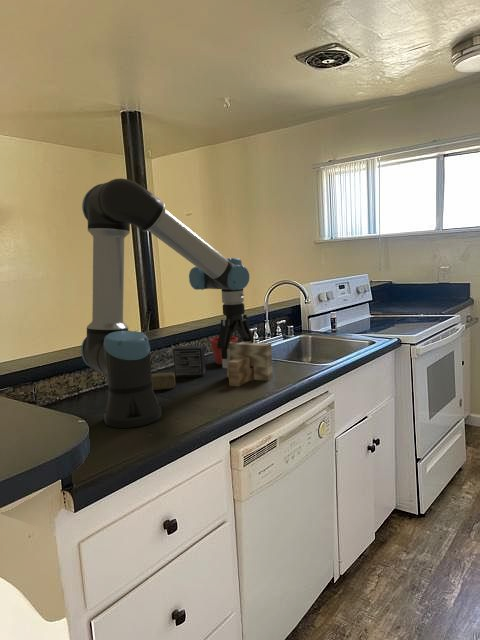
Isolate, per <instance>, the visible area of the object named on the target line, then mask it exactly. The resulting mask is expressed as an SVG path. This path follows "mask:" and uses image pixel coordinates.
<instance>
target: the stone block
mask: <svg viewBox="0 0 480 640" xmlns="http://www.w3.org/2000/svg"><path fill="white" fill-rule="evenodd" d="M152 386H153V390H154V391H161V390H162V391H163V390H170V389H171V390H172V389H175V387H176V377H175V372H154V373H152Z"/></svg>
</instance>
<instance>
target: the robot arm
mask: <svg viewBox="0 0 480 640" xmlns="http://www.w3.org/2000/svg"><path fill="white" fill-rule="evenodd" d="M81 207H82V208H81V209H82V213H83V216H84V218H85V219H86V220H87V232H88V233H89V234H90V235H91V236H92V238H93V239H92V250H93V251H92V312H91V313H92V317H91V318H92V321H91V322H90V323H89V324H88V325H87V326H86V337H85V338H84V339H83V341H82V342H81V346H80V347H81V348H80V354H81V357H82V359H83V360H82V361H83V362H84V363H85V364H86V366H88V367H89V368H90V369H92V370H93V371H94V372H96V373H100V374H103V375H106V377H107V388H108V396H107V400H106V407H105V411H104V413H103V417H104V418H103V419H104V423H105V425H106V426H108V427H111V428H117V429H129V428H137V427H142V426H146V425H149V424H152V423H155V422H157V421H158V420H159V419H161V417H162V408H161V405H160V404H159V401H158V399H157V397H156V393H155V390H153V386H152V374H153V373H152V362H151V345H150V341H149V337H148V336H147V335H146V334H145V333H143V332H141V331H138V330H137V331H136V330H129V326H128V325H127V324H126V323H125V322H124V288H125V287H124V283H125V282H124V281H125V280H124V279H125V278H124V277H125V276H124V274H125V273H124V272H125V239H126V237H127V236H128V235H130V233H131V232H130V231H131V225H132V226H135V227H136V228H138V230H140V231H141V232H149V233H151V234H152V235H153V236H154V237H156V238H158V240H160V241H161V242H163V243H164V244H165V245H167V246H168V247H169V248H171V249H172V250H173V251H175V252H176V253H177V254H179V255H180V256H182V257H183V258H184V259H185V260H187V261H188V262H190V263H191V264H192V265H193V266H194V267H192V268H191V269H190V271H189V273H188V280H189V284H190V286H191V287H192V288H193V289H194V290H198V291H199V290H201V291H203V290H221V303H222V314H223V316H225V317H226V318H225V319H220V329H219V335H218V337H219V339H218V344H217V348H218V349H221V351H222V364H221V365H222V368H223V369H227V368H228V362H229V361H230V349H228V347H229V344H230V341H231V337H233V334H234V333H235V332H236V331H237V332H238V334H239V336H240V338H241V339H242V341H241V342H245V343H250V342H252V341H253V334H252V332H251V328H250V325H249V322H248V317H247V316H248V315H247V314H245V311H246V310H245V303H244V302H245V298H244V296H245V294H244V289H245V288H246V287H248V284H249V282H250V273H249V270H248V269H247V268H246V266H244V265H243V263H242V260H241V258H239V257H234V258H233V257H230V258H228V257H227V258H226V257H225V256H224V255H223V254H221V252H220V251H218V250H217V249H215V248H214V247H213V246H211V245H210V244H209V243H208V242H207V241H205V240H204V239H203V238H202V237H201V236H199V234H197V233H196V232H195V231H193V230H192V229H191V228H189V227H188V226H187V225H185V223H183V222H182V221H181V220H179V218H177V217H176V216H175V215H173V214H172V213H171V212H170V211H168V210H167V209H166V205H165V202H163V201H162V200H161V199H160V198H158V197H157V196H156V195H155V194H153V193H152V192H151V191H149V190H148V189H146V188H145V187H143V186H142V185H140V184H139V183H137V182H135V181H132V180H131V179H127V178H114V179H111V180H110V181H107V182H104V183H100V184H96V185H95V186H93V187H92V188H91V189H90V190H88V191H87V192H86V194H85V195H84V197H83V199H82V205H81ZM225 345H226V346H225Z"/></svg>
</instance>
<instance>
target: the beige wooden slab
mask: <svg viewBox="0 0 480 640" xmlns="http://www.w3.org/2000/svg"><path fill="white" fill-rule="evenodd" d="M228 349H230V361H231V360H233V359H236V358H238V357H249V360H250V366H254V379H253V380H255V381H264V382H269V381H271V380H273V375H274V374H273V359H272V358H273V356H272V355H273V353H272V344H271V343H260V342H249V343H245V342H242V341H240V342H239V341H238V342H230V344H229V347H228ZM226 373H227V377H226V378H229V372H228V368H226Z"/></svg>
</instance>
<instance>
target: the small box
mask: <svg viewBox="0 0 480 640" xmlns="http://www.w3.org/2000/svg"><path fill="white" fill-rule="evenodd" d="M172 354H173V365H174V366H173V367H174V375H175V378H191V377H204V375H205V374H206V373H207V371H206V368H207V367H206V355H205V345H204V344H203V345H199V344H198V345H183V346H182V345H180V346H178V345H176V346H175V347H174V348H172Z"/></svg>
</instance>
